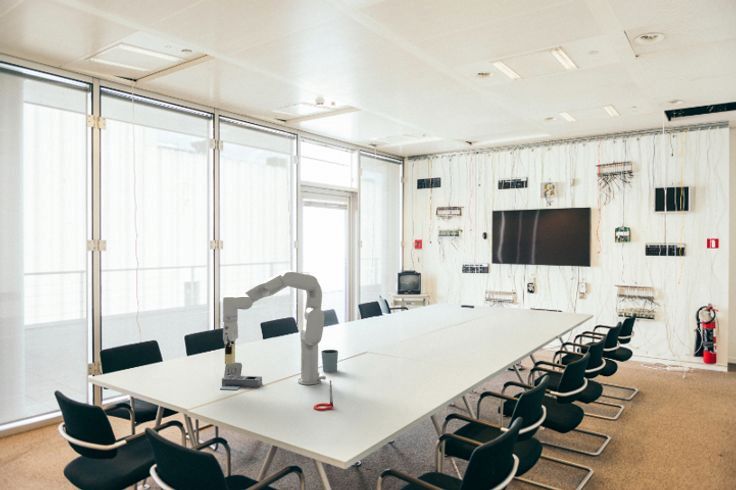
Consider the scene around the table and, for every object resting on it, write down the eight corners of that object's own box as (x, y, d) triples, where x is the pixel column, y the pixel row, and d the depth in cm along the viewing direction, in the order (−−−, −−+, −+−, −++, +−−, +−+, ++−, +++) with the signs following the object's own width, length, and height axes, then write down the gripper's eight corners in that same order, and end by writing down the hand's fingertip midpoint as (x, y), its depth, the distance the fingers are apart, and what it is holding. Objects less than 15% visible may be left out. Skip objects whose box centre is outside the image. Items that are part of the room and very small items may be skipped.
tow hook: (313, 412, 228) (333, 410, 229) (312, 384, 228) (332, 383, 228) (313, 406, 236) (333, 404, 237) (312, 379, 236) (332, 378, 237)
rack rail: (262, 383, 270) (262, 376, 270) (257, 387, 263) (257, 380, 263) (226, 382, 272) (226, 375, 272) (221, 386, 266) (221, 378, 265)
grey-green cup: (335, 373, 292) (335, 353, 292) (319, 372, 294) (319, 352, 294) (339, 369, 302) (339, 349, 302) (324, 368, 304) (324, 348, 304)
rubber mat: (240, 387, 263) (240, 386, 263) (236, 390, 258) (236, 389, 258) (223, 386, 264) (223, 385, 264) (220, 389, 259) (220, 388, 259)
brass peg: (234, 362, 263) (235, 343, 263) (232, 364, 259) (232, 345, 259) (227, 362, 263) (227, 343, 263) (224, 364, 259) (224, 345, 259)
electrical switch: (223, 379, 280) (224, 362, 280) (227, 377, 285) (228, 361, 285) (238, 380, 278) (239, 363, 279) (242, 378, 283) (243, 362, 284)
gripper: (231, 321, 252) (230, 357, 252) (242, 316, 269) (242, 350, 269) (217, 321, 253) (216, 356, 253) (229, 316, 270) (229, 349, 270)
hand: (230, 352), depth 261 cm, fingers closed on brass peg, 4 cm apart
